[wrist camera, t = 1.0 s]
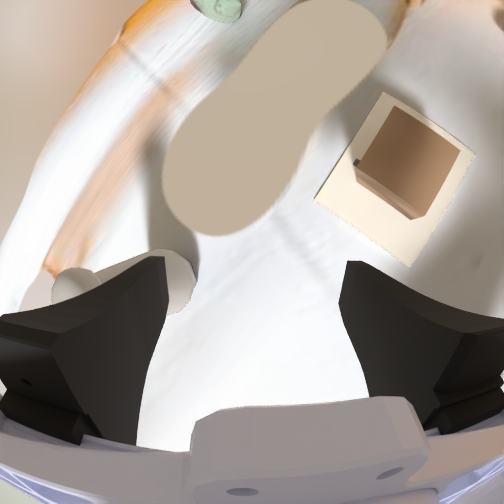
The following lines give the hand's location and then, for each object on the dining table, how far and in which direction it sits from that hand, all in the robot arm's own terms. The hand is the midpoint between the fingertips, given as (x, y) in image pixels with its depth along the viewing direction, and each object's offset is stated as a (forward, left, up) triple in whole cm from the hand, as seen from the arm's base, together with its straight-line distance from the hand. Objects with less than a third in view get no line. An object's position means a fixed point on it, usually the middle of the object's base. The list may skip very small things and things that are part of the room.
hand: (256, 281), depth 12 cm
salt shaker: (+9, +8, -12) cm, 17 cm away
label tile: (-2, -10, -12) cm, 16 cm away
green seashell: (+20, -17, -12) cm, 28 cm away
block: (-2, -10, -12) cm, 15 cm away
